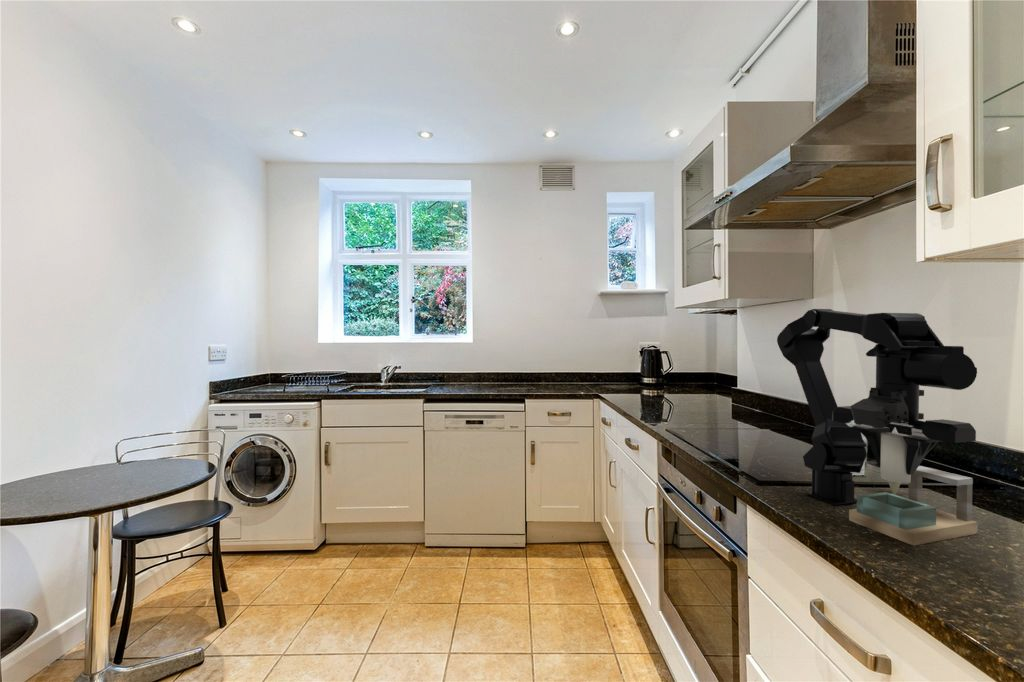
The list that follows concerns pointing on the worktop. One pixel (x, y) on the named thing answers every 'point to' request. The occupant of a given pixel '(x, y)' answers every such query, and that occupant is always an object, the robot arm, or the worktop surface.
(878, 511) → the socket board
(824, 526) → the worktop surface
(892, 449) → the peg
